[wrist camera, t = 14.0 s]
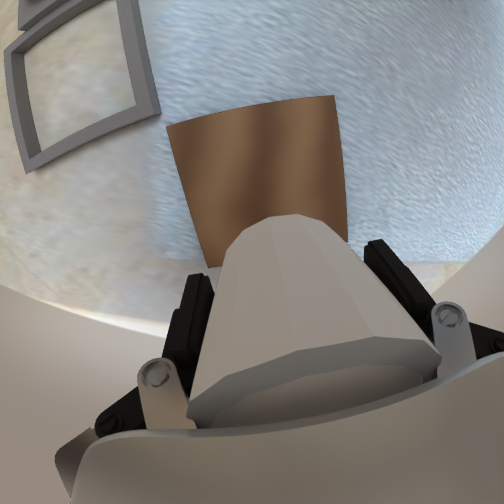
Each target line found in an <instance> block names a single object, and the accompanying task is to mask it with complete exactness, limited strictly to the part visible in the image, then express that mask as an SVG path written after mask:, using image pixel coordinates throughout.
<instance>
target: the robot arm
mask: <svg viewBox="0 0 504 504" xmlns="http://www.w3.org/2000/svg"><path fill="white" fill-rule="evenodd" d="M364 263H365V264H366V265H367V266H368V267H369V268H370V269H371V270H372V272H373V273H374V274H375V275H376V276H377V277H378V278H379V280H380V281H381V282H382V283H383V284H384V285H385V286H386V288H387V289H388V290H389V291H390V292H391V293H392V295H393V296H394V297H395V298H396V299H397V300H398V302H399V303H400V304H401V305H402V306H403V308H404V309H405V310H406V311H407V312H408V314H409V315H410V316H411V317H412V319H413V320H414V321H415V322H416V324H417V325H418V326H419V327H420V329H421V330H422V331H423V332H424V334H425V335H426V336H427V338H428V339H429V340H430V342H431V343H432V344H433V345H434V347H435V348H436V349H437V351H438V352H439V353H440V355H441V356H442V362H441V363H440V364H438V365H437V367H436V369H435V371H434V373H433V375H432V378H431V381H429V382H427V383H424V384H422V385H419V386H417V387H414V388H411V389H409V390H406V391H403V392H401V393H398V394H395V395H392V396H389V397H386V398H383V399H379V400H376V401H373V402H370V403H366V404H363V405H359V406H356V407H352V408H348V409H344V410H340V411H336V412H332V413H327V414H322V415H318V416H313V417H308V418H302V419H297V420H290V421H284V422H277V423H270V424H262V425H253V426H242V427H229V428H209V429H201V428H200V426H199V425H198V424H197V423H196V422H195V420H194V419H193V418H187V417H186V413H187V408H188V404H189V399H190V394H191V390H192V386H193V381H194V377H195V373H196V368H197V364H198V360H199V356H200V352H201V348H202V343H203V339H204V335H205V331H206V327H207V323H208V319H209V315H210V311H211V307H212V303H213V299H214V295H215V294H214V291H213V288H212V285H211V282H210V279H209V277H208V276H204V275H203V273H198V274H193V275H189V276H188V278H187V282H186V285H185V289H184V293H183V296H182V300H181V304H180V308H179V309H175V310H174V312H173V315H172V319H171V322H170V326H169V330H168V334H167V338H166V342H165V345H164V349H163V353H162V357H161V358H155V359H152V360H150V361H148V362H147V363H145V364H144V365H143V366H142V367H141V369H140V370H139V372H138V375H137V382H138V386H137V387H136V388H134V389H133V390H132V391H130V392H129V393H128V394H126V395H125V396H124V397H122V398H121V399H120V400H118V401H117V402H116V403H114V404H113V405H111V406H110V407H109V408H107V409H106V410H105V411H103V412H102V413H101V414H100V415H99V416H98V418H97V419H96V422H95V428H94V429H92V428H91V427H90V428H88V429H87V430H85V431H84V432H82V433H81V434H80V435H78V436H77V437H75V438H74V439H72V440H71V441H70V442H68V443H67V444H65V445H64V446H62V447H61V448H60V449H59V450H58V451H57V452H56V455H55V465H56V468H57V470H58V472H59V474H60V477H61V479H62V481H63V484H64V486H65V488H66V490H67V492H68V494H69V496H70V498H71V502H70V504H504V333H503V332H500V331H496V330H493V329H490V328H487V327H484V326H480V325H477V324H474V323H471V322H468V319H467V315H466V313H465V311H464V310H463V308H462V307H461V306H459V305H457V304H456V303H453V302H447V301H446V302H440V303H438V304H436V303H435V301H434V300H433V299H432V298H431V296H430V295H429V293H428V292H427V291H426V290H425V288H424V287H423V286H422V284H421V283H420V282H419V281H418V279H417V278H416V277H415V276H414V274H413V273H412V272H411V271H410V269H409V268H408V267H407V266H405V265H404V264H403V263H402V262H401V260H400V259H399V258H398V257H397V256H396V254H395V253H394V252H393V251H392V250H391V249H390V247H389V246H388V245H387V244H386V243H385V242H384V241H383V240H382V239H378V240H373V241H369V242H368V245H366V246H365V247H364Z"/></svg>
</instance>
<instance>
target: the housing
mask: <svg viewBox="0 0 504 504" xmlns="http://www.w3.org/2000/svg"><path fill="white" fill-rule="evenodd" d="M102 1H104V0H19V7H18V30H22V31H25V32H24V33H23V34H22V35H20V36H19V37H18V38H17V39H16V40H15V41H13V42H12V43H11V44H10V45H9V46H8V47H7V48H6V49H5V50H4V65H5V77H6V86H7V94H8V101H9V107H10V113H11V118H12V123H13V128H14V132H15V136H16V141H17V145H18V149H19V152H20V156H21V159H22V163H23V166H24V170H25V173H26V174H28V173H30V172H32V171H34V170H36V169H38V168H40V167H41V166H43V165H45V164H47V163H48V162H50V161H52V160H54V159H56V158H58V157H59V156H61V155H63V154H65V153H67V152H69V151H71V150H73V149H75V148H77V147H79V146H81V145H83V144H85V143H87V142H90V141H92V140H94V139H96V138H98V137H101V136H103V135H105V134H108V133H110V132H112V131H115V130H117V129H120V128H122V127H125V126H127V125H130V124H133V123H135V122H138V121H141V120H143V119H146V118H149V117H152V116H155V115H158V114H161V113H162V112H161V108H160V104H159V100H158V96H157V92H156V87H155V83H154V79H153V74H152V70H151V65H150V61H149V56H148V51H147V46H146V41H145V36H144V31H143V26H142V20H141V15H140V9H139V3H138V0H117V7H118V14H119V20H120V27H121V32H122V38H123V44H124V49H125V54H126V59H127V64H128V69H129V74H130V78H131V83H132V87H133V91H134V96H135V100H136V104H137V106H134V107H131V108H129V109H126V110H124V111H121V112H119V113H117V114H114V115H112V116H110V117H107V118H105V119H103V120H101V121H99V122H96V123H94V124H92V125H90V126H88V127H86V128H84V129H82V130H80V131H78V132H76V133H74V134H72V135H70V136H68V137H67V138H65V139H63V140H61V141H59V142H58V143H56V144H54V145H52V146H51V147H49V148H47V149H45V150H44V151H42V152H41V149H40V146H39V142H38V138H37V134H36V130H35V126H34V122H33V117H32V112H31V107H30V102H29V96H28V90H27V83H26V76H25V67H24V56H23V53H24V52H25V51H26V50H28V49H29V48H30V47H31V46H33V45H34V44H35V43H37V42H38V41H39V40H41V39H42V38H43V37H45V36H46V35H47V34H49V33H50V32H52V31H53V30H55V29H56V28H58V27H59V26H61V25H62V24H64V23H65V22H67V21H68V20H70V19H71V18H73V17H75V16H76V15H78V14H80V13H81V12H83V11H85V10H87V9H89V8H90V7H92V6H94V5H96V4H98V3H100V2H102Z"/></svg>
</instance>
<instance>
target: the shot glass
mask: <svg viewBox="0 0 504 504" xmlns="http://www.w3.org/2000/svg"><path fill="white" fill-rule="evenodd" d="M441 362H442V356H441V355H440V353H439V352H438V351H437V349H436V348H435V347H434V345H433V344H432V343H431V342H430V340H429V339H428V338H427V336H426V335H425V334H424V332H423V331H422V330H421V329H420V327H419V326H418V325H417V324H416V322H415V321H414V320H413V319H412V317H411V316H410V315H409V314H408V312H407V311H406V310H405V309H404V308H403V306H402V305H401V304H400V303H399V302H398V300H397V299H396V298H395V297H394V296H393V295H392V293H391V292H390V291H389V290H388V289H387V288H386V286H385V285H384V284H383V283H382V282H381V281H380V280H379V278H378V277H377V276H376V275H375V274H374V273H373V272H372V270H371V269H370V268H369V267H368V266H367V265H366V264H365V263H364V262H363V261H362V259H361V258H360V257H359V256H358V255H357V254H356V253H355V252H354V251H353V250H352V249H351V248H350V247H349V245H348V244H347V243H346V242H345V241H344V240H343V239H342V238H341V237H340V236H339V235H338V234H337V233H335V232H334V231H333V230H332V229H331V228H330V227H329V226H327V225H326V224H325V223H324V222H323V221H320V220H316V219H313V218H309V217H306V216H302V215H299V214H293V215H283V216H274V217H268V218H266V219H264V220H262V221H260V222H258V223H256V224H254V225H252V226H250V227H249V228H247V229H245V230H243V231H242V232H241V234H240V235H239V236H238V237H237V238H236V239H235V241H234V242H233V243H232V244H231V245H230V247H229V248H228V249H227V251H226V254H225V258H224V261H223V265H222V269H221V272H220V276H219V280H218V284H217V288H216V292H215V295H214V299H213V303H212V307H211V311H210V315H209V319H208V323H207V327H206V331H205V335H204V339H203V343H202V348H201V352H200V356H199V360H198V364H197V368H196V373H195V377H194V381H193V386H192V390H191V394H190V399H189V404H188V408H187V413H186V417H187V418H193V419H194V420H195V422H196V423H197V424H198V425H199V426H200V428H201V429H209V428H229V427H242V426H253V425H262V424H270V423H277V422H284V421H290V420H297V419H302V418H308V417H313V416H318V415H322V414H327V413H332V412H336V411H340V410H344V409H348V408H352V407H356V406H359V405H363V404H366V403H370V402H373V401H376V400H379V399H383V398H386V397H389V396H392V395H395V394H398V393H401V392H403V391H406V390H409V389H411V388H414V387H417V386H419V385H422V384H424V383H427V382H429V381H431V378H432V375H433V373H434V371H435V369H436V367H437V365H438V364H440V363H441Z"/></svg>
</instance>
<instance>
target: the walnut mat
mask: <svg viewBox="0 0 504 504" xmlns="http://www.w3.org/2000/svg"><path fill="white" fill-rule="evenodd" d="M166 128H167V132H168V136H169V140H170V144H171V147H172V151H173V155H174V158H175V162H176V165H177V169H178V173H179V176H180V180H181V183H182V186H183V190H184V193H185V197H186V200H187V203H188V207H189V210H190V213H191V216H192V220H193V223H194V226H195V229H196V232H197V236H198V239H199V242H200V245H201V248H202V251H203V254H204V257H205V260H206V263H207V266H208V268H213V267H218V266H222V265H223V261H224V258H225V254H226V251H227V249H228V248H229V247H230V245H231V244H232V243H233V242H234V241H235V239H236V238H237V237H238V236H239V235H240V234H241V232H242V231H243V230H245V229H247V228H249V227H250V226H252V225H254V224H256V223H258V222H260V221H262V220H264V219H266V218H268V217H274V216H283V215H293V214H299V215H302V216H306V217H309V218H313V219H316V220H320V221H323V222H324V223H325V224H326V225H327V226H329V227H330V228H331V229H332V230H333V231H334V232H335V233H337V234H338V235H339V236H340V237H341V238H342V239H343V240H344V241H345V242H348V229H347V207H346V192H345V179H344V168H343V158H342V149H341V140H340V132H339V125H338V118H337V111H336V105H335V99H334V95H329V96H317V97H307V98H298V99H290V100H283V101H276V102H270V103H264V104H258V105H252V106H247V107H242V108H237V109H232V110H227V111H223V112H219V113H214V114H210V115H206V116H202V117H198V118H195V119H191V120H187V121H184V122H180V123H177V124H173V125H170V126H167V127H166Z"/></svg>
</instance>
